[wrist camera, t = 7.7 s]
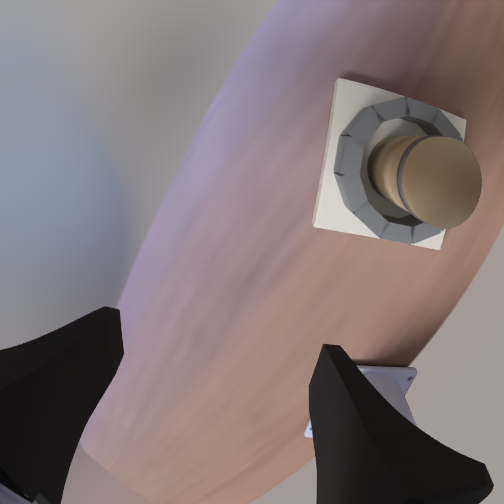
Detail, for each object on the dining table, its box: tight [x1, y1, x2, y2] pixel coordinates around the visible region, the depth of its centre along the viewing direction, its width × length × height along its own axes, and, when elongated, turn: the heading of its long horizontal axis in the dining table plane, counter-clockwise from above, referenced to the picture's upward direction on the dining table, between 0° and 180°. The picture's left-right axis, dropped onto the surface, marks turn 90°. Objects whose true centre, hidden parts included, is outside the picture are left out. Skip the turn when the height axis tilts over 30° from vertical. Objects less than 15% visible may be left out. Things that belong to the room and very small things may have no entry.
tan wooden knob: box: [367, 135, 482, 229], centre depth 14 cm, size 4×4×6 cm
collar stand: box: [312, 78, 466, 250], centre depth 16 cm, size 9×9×3 cm
